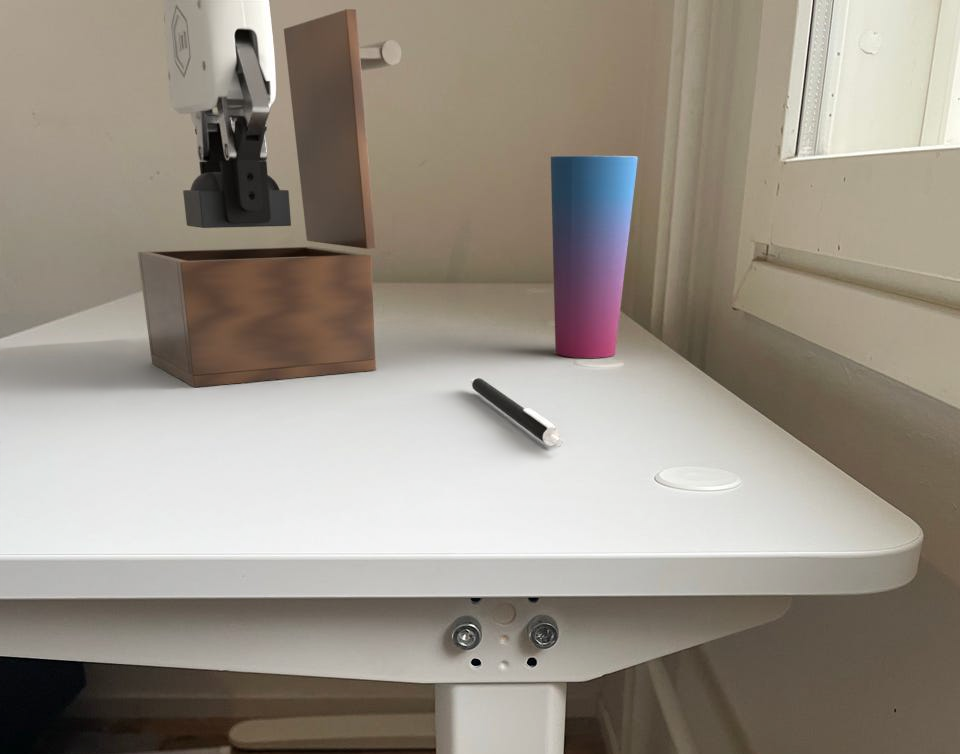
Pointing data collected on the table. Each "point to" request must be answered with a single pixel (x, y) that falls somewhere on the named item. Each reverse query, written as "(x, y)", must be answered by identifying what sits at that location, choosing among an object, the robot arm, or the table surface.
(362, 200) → the lid
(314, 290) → the chest
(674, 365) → the table surface
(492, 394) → the pen
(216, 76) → the robot arm
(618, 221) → the cup
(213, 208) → the domed black block
